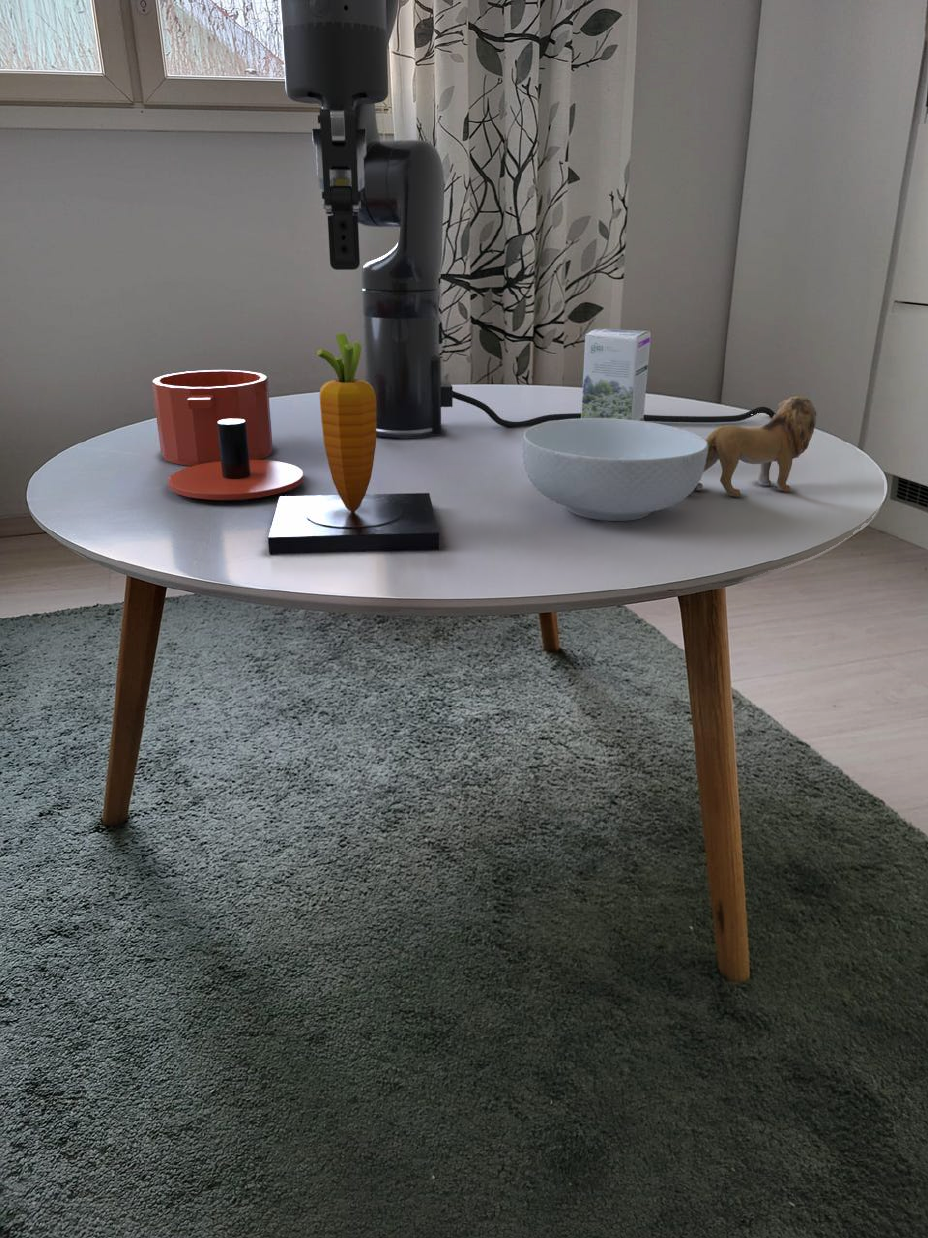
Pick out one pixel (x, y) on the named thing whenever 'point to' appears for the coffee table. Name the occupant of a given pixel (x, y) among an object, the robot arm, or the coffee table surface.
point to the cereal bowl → (613, 465)
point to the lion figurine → (763, 444)
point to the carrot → (348, 425)
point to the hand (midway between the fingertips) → (345, 266)
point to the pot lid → (235, 471)
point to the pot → (210, 413)
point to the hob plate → (353, 524)
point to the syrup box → (615, 374)
